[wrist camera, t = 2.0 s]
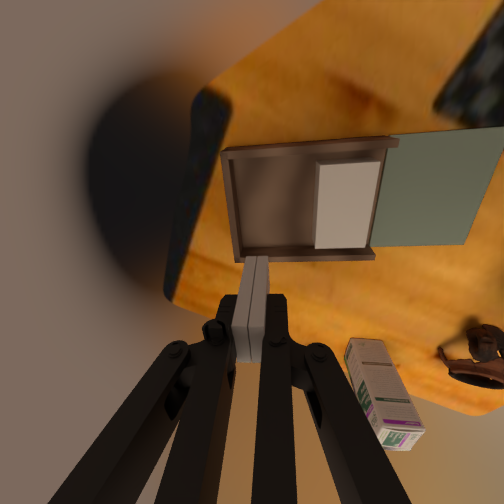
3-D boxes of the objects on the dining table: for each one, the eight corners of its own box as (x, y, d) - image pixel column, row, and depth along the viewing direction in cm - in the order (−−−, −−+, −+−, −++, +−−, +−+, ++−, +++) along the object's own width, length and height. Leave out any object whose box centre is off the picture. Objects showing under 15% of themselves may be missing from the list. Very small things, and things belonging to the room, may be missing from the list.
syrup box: (349, 336, 43) (379, 428, 30) (383, 339, 42) (428, 433, 30) (343, 357, 46) (368, 448, 33) (374, 359, 45) (412, 453, 33)
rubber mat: (508, 126, 25) (512, 126, 25) (461, 242, 32) (463, 244, 32) (388, 135, 26) (390, 135, 26) (368, 245, 33) (369, 246, 33)
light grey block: (370, 157, 27) (380, 161, 24) (357, 236, 32) (365, 247, 29) (316, 160, 27) (320, 165, 25) (312, 238, 32) (315, 248, 30)
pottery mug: (507, 345, 41) (518, 397, 37) (438, 336, 47) (441, 380, 43) (517, 314, 34) (532, 374, 30) (435, 308, 40) (437, 358, 36)
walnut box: (383, 135, 27) (400, 138, 23) (364, 245, 33) (374, 260, 30) (226, 147, 29) (219, 152, 25) (238, 248, 36) (234, 262, 32)
